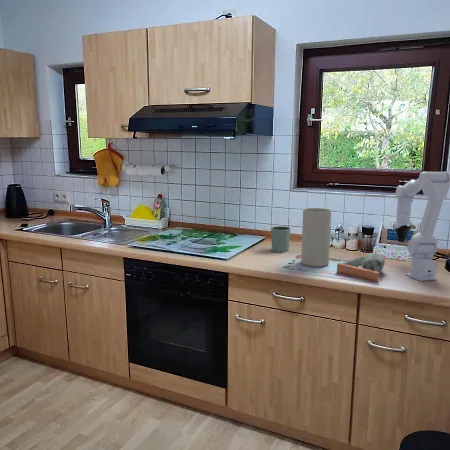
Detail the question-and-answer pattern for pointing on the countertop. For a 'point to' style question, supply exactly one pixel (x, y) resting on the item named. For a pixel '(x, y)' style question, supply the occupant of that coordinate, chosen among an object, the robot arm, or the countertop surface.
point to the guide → (357, 270)
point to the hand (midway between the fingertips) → (401, 241)
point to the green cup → (280, 238)
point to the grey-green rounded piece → (373, 262)
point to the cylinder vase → (316, 237)
